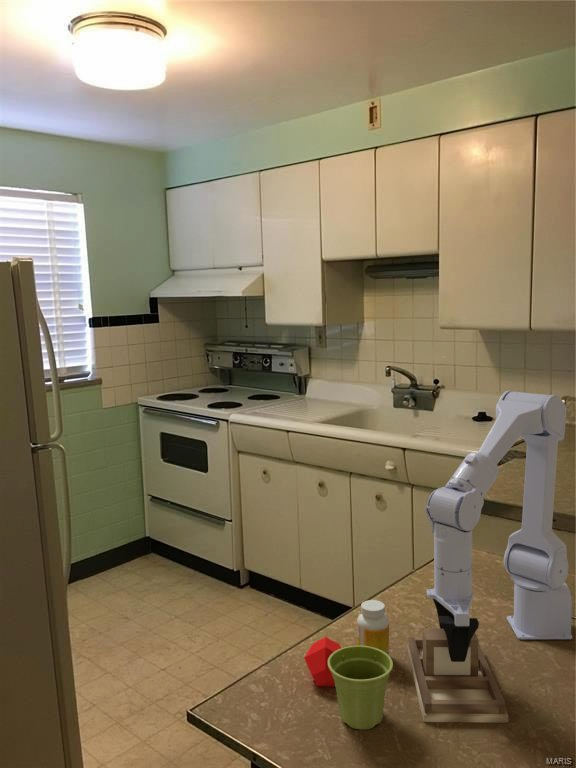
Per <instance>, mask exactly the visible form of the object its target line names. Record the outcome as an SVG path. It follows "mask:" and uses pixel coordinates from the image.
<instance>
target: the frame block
mask: <svg viewBox="0 0 576 768" xmlns="http://www.w3.org/2000/svg"><path fill="white" fill-rule="evenodd" d="M422 637H423V672H424V676H451V677H478V643H479V638H478V635H477V633H476V632H475V633H474V635H473V637H472V639H471V641H470V645H469V648H468V652H467V656H466V659H465V662H452V661H451V659H450V656H449V651H448V644H447V638H446V634H445V631H444V629H440V628H422Z"/></svg>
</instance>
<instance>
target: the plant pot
mask: <svg viewBox="0 0 576 768" xmlns="http://www.w3.org/2000/svg"><path fill="white" fill-rule="evenodd" d="M393 666H394V662H393V660H392V658H391V657H390V654H389V655H388V654H386V653H385V652H383V651H382V650H380V649H377V648H373V647H369V646H357V645H351V646H350V645H349V646H345V647H341V649H338V650H337V651H335V652H333V653H332V654H331V655H330V657H329V658H328V667H329V669H330V671H331V672H332V676H333V678H334V681H335V686H334V687H335V691H336V696H337V697H336V699H337V702H338V704H337V705H338V709H339V714H340V715H339V716H340V719H341V721H342V722H343V723H344V724H347V726H349V727H350V728H351V729H355V730H356V729H357V730H370V729H373V728H374V727H375V726H376V725H377V724H381V722H382V720H383V714H384V708H385V707H384V706H385V697H386V691H387V684H388V682H387V681H388V679H389V678H390V673H391V672H392V671H393V668H394V667H393Z"/></svg>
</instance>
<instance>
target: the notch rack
mask: <svg viewBox="0 0 576 768" xmlns="http://www.w3.org/2000/svg"><path fill="white" fill-rule="evenodd" d="M407 639H408V641H407V643H406V653H407V656H408V661H409V664H410V668H411V673H412V678H413V683H414V685H415V690H416V694H417V698H418V704H419V708H420V711H421V716H422V720H423V722H424V723H494V724H497V723H498V724H499V723H500V724H501V723H506V724H507V723H509V715H508V712H507V710H506V709H507V704H506V701H505V700H504V697H503V694H502V693H501V690H500V688H499V686H498V683H497V681H496V679H495V677H494V674H493V672H492V670H491V668H490V666H489V664H488V662H487V659H486V657H485V654H484V652H483V650H482V647H481V646H480V644H479V642H478V677H451V676H424V672H423V636H409V637H408V638H407Z"/></svg>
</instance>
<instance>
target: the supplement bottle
mask: <svg viewBox="0 0 576 768" xmlns="http://www.w3.org/2000/svg"><path fill="white" fill-rule="evenodd" d="M356 620H357V621H356V646H369V647H373V648H377V649H380V650H382V651H383V652H385V653H386V654H388V655H389V656H390V621H389V618H388V617H387V615H386V605H385V603H384V602H383V601H380V600H376V599H369V600H368V599H367V600H365V601H362V603H361V605H360V614H359V615H358V617H357V619H356Z"/></svg>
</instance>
